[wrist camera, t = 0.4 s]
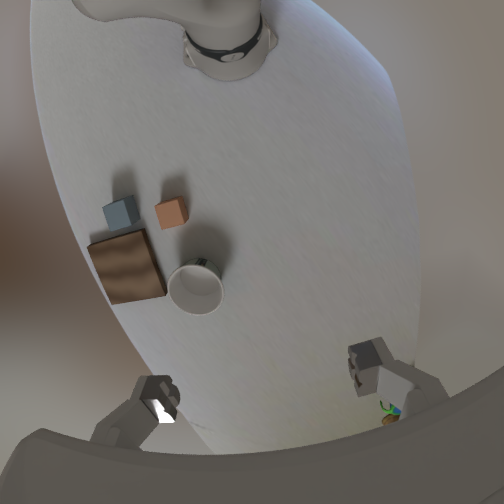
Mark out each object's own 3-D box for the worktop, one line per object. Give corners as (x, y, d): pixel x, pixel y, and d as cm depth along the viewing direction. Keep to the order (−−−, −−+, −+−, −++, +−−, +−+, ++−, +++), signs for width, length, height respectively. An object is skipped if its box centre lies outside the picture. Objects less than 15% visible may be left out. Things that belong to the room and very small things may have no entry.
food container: (172, 252, 58) (163, 264, 52) (226, 252, 58) (223, 265, 52) (178, 298, 63) (171, 314, 57) (227, 300, 63) (225, 316, 57)
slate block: (113, 202, 54) (102, 207, 50) (133, 195, 54) (123, 199, 49) (120, 224, 56) (110, 231, 52) (140, 218, 56) (131, 225, 51)
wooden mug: (411, 411, 85) (425, 442, 68) (383, 425, 87) (394, 458, 71) (409, 403, 82) (424, 436, 65) (379, 418, 84) (391, 452, 68)
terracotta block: (160, 202, 54) (154, 206, 51) (182, 195, 54) (177, 199, 50) (167, 224, 56) (161, 229, 52) (189, 218, 56) (184, 223, 52)
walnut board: (90, 244, 58) (86, 247, 56) (144, 228, 56) (141, 231, 54) (114, 300, 63) (111, 304, 62) (167, 291, 62) (165, 295, 60)
